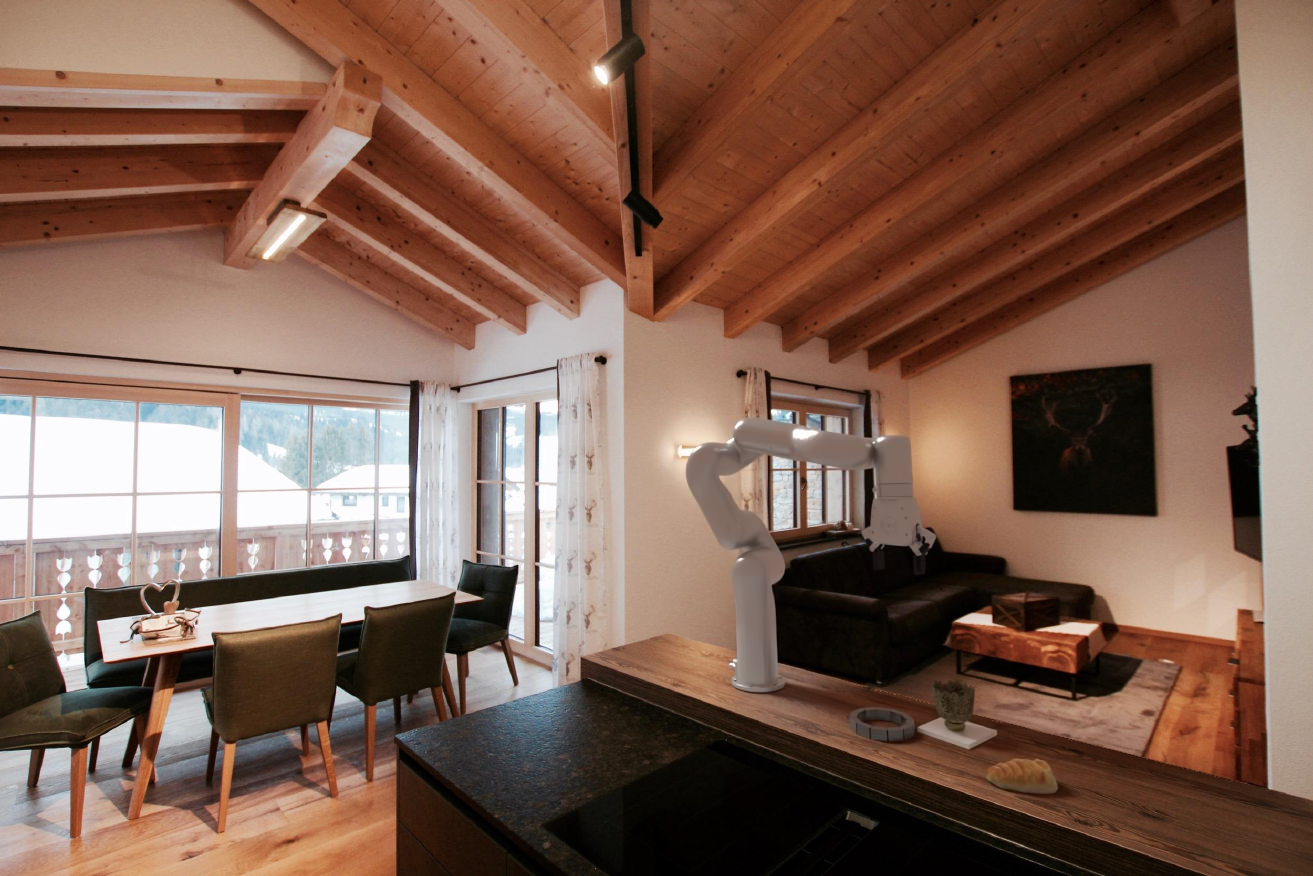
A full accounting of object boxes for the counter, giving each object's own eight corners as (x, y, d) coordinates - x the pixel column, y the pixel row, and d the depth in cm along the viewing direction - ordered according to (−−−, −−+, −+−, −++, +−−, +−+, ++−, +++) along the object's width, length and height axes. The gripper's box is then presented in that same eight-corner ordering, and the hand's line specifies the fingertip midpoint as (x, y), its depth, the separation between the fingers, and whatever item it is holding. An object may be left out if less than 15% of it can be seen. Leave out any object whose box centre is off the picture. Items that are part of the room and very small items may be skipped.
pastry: (998, 795, 95) (996, 770, 95) (979, 775, 102) (977, 751, 102) (1062, 796, 94) (1060, 770, 95) (1038, 775, 101) (1037, 751, 101)
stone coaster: (917, 731, 119) (917, 727, 119) (946, 719, 125) (945, 715, 125) (968, 749, 111) (968, 744, 111) (997, 735, 116) (996, 730, 116)
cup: (967, 721, 121) (965, 679, 122) (984, 737, 114) (981, 692, 114) (928, 720, 122) (926, 679, 122) (942, 736, 114) (940, 692, 115)
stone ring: (838, 727, 122) (837, 716, 122) (874, 713, 129) (874, 703, 129) (890, 746, 113) (889, 735, 113) (926, 730, 119) (926, 720, 119)
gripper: (850, 492, 140) (854, 569, 139) (921, 492, 126) (926, 578, 125) (871, 491, 144) (874, 566, 143) (942, 491, 130) (946, 574, 129)
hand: (898, 571), depth 134 cm, fingers open, 9 cm apart
